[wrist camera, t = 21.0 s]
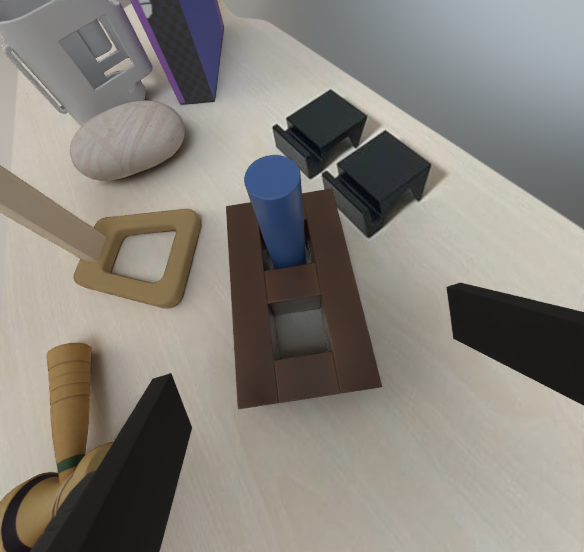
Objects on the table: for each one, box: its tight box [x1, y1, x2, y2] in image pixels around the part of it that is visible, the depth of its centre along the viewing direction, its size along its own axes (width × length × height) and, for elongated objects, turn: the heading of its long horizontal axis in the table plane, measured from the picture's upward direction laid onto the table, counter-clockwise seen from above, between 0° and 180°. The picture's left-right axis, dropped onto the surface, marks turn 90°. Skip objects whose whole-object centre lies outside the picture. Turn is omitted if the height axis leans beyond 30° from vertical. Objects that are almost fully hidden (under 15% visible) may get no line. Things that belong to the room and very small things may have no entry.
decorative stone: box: [70, 101, 185, 181], centre depth 31 cm, size 13×9×5 cm
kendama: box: [0, 343, 113, 552], centre depth 19 cm, size 8×6×18 cm
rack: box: [226, 189, 382, 409], centre depth 23 cm, size 10×17×4 cm, turn 8°
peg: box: [244, 155, 306, 269], centre depth 21 cm, size 3×3×12 cm
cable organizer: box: [0, 0, 153, 127], centre depth 31 cm, size 7×12×12 cm, turn 138°
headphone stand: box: [0, 165, 201, 308], centre depth 18 cm, size 10×11×22 cm
